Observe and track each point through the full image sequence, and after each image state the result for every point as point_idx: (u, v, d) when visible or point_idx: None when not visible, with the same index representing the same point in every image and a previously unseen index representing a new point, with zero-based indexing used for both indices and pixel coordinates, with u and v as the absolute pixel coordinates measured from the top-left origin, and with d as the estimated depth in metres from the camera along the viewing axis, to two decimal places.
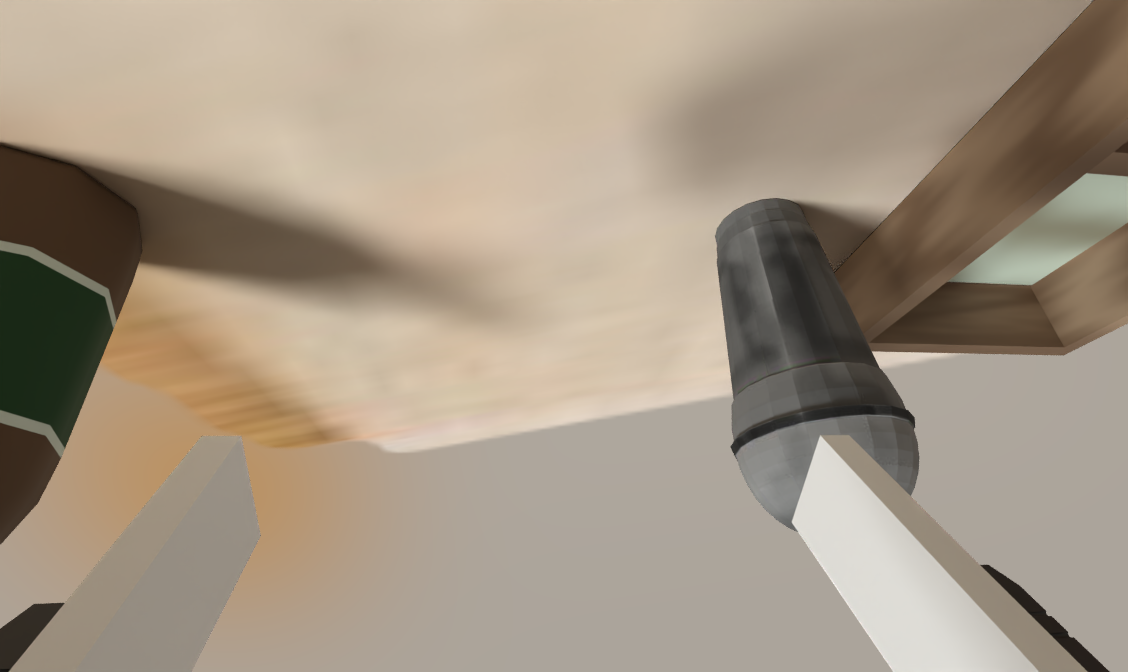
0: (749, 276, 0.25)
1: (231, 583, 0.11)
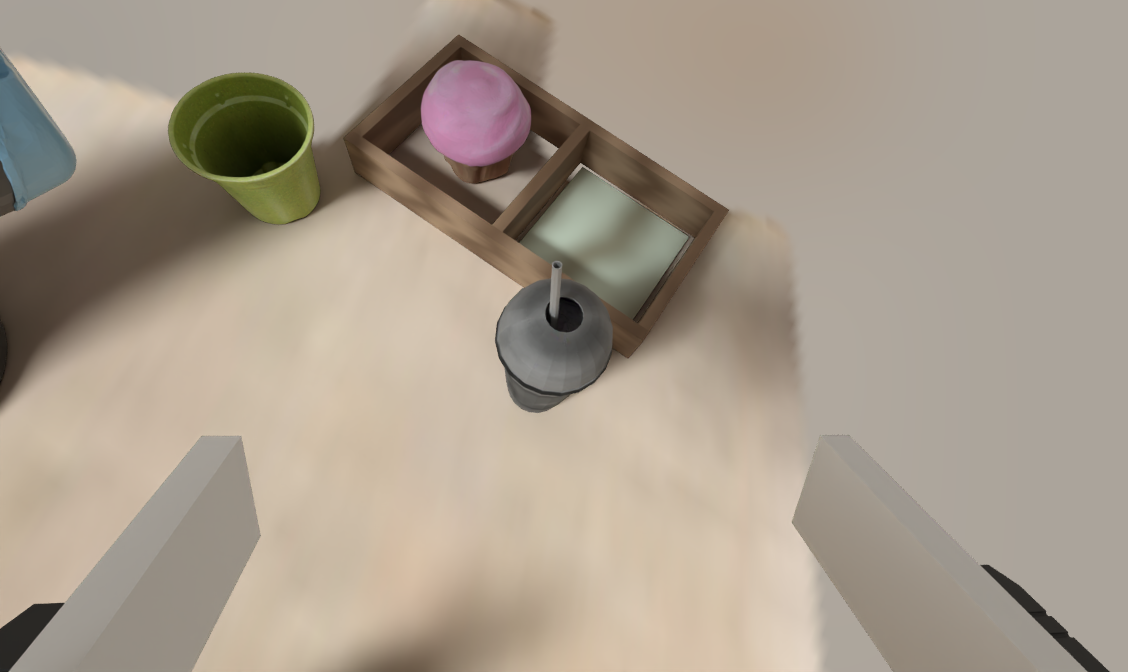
0: (507, 382, 0.40)
1: (231, 583, 0.11)
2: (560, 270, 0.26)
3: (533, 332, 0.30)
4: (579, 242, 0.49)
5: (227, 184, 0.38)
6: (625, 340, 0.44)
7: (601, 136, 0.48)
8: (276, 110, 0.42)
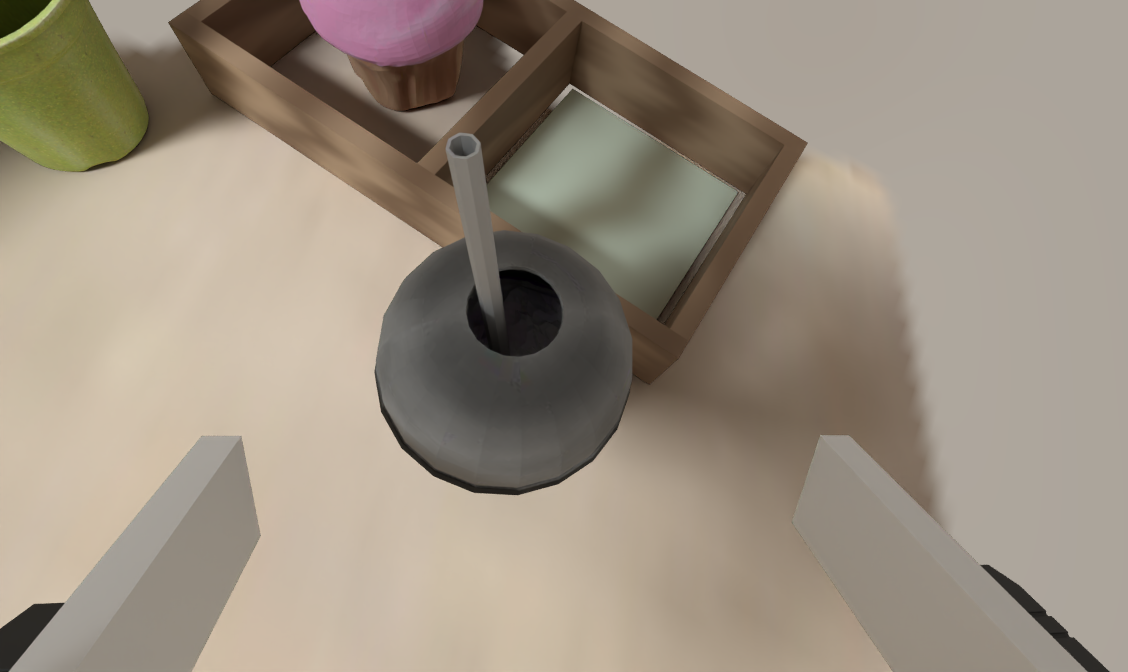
0: None
1: (231, 583, 0.11)
2: (475, 165, 0.08)
3: (437, 357, 0.12)
4: (568, 200, 0.31)
5: None
6: (646, 356, 0.26)
7: (600, 30, 0.30)
8: None
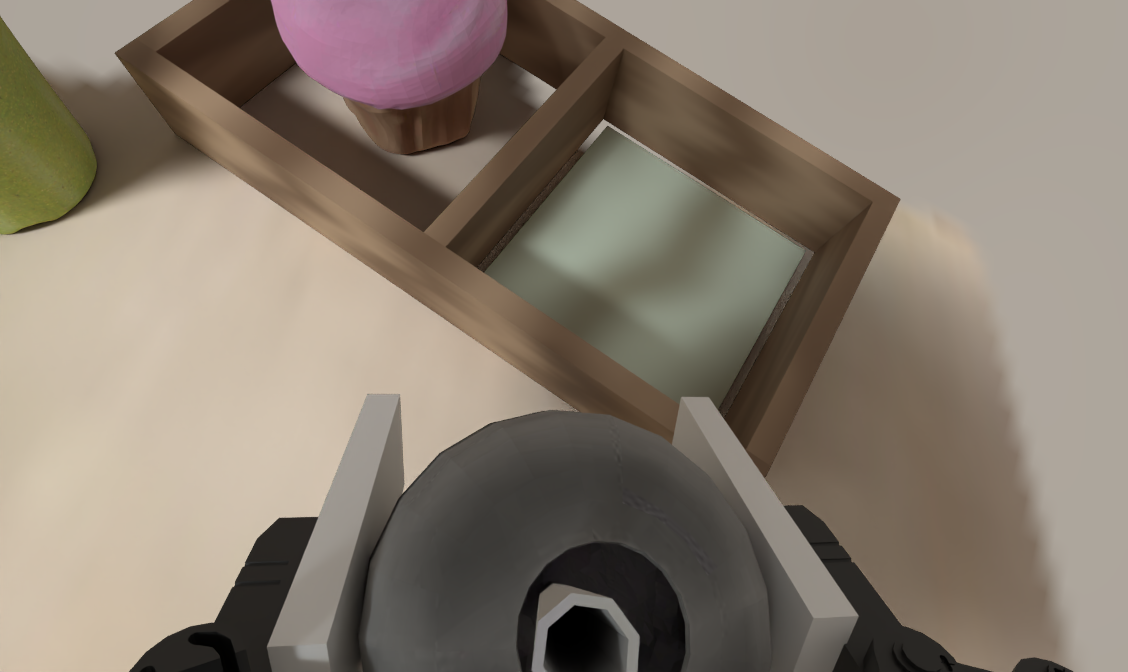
0: None
1: None
2: None
3: None
4: (605, 264, 0.26)
5: None
6: None
7: (646, 60, 0.25)
8: None
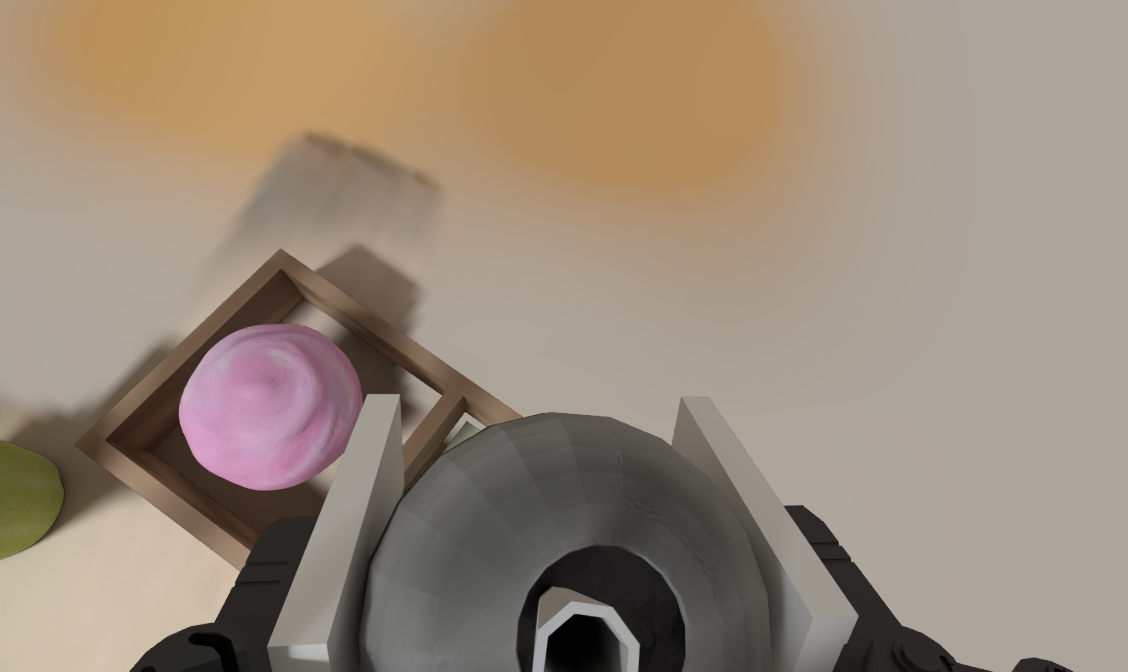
0: None
1: None
2: None
3: None
4: None
5: None
6: None
7: (480, 404, 0.33)
8: None
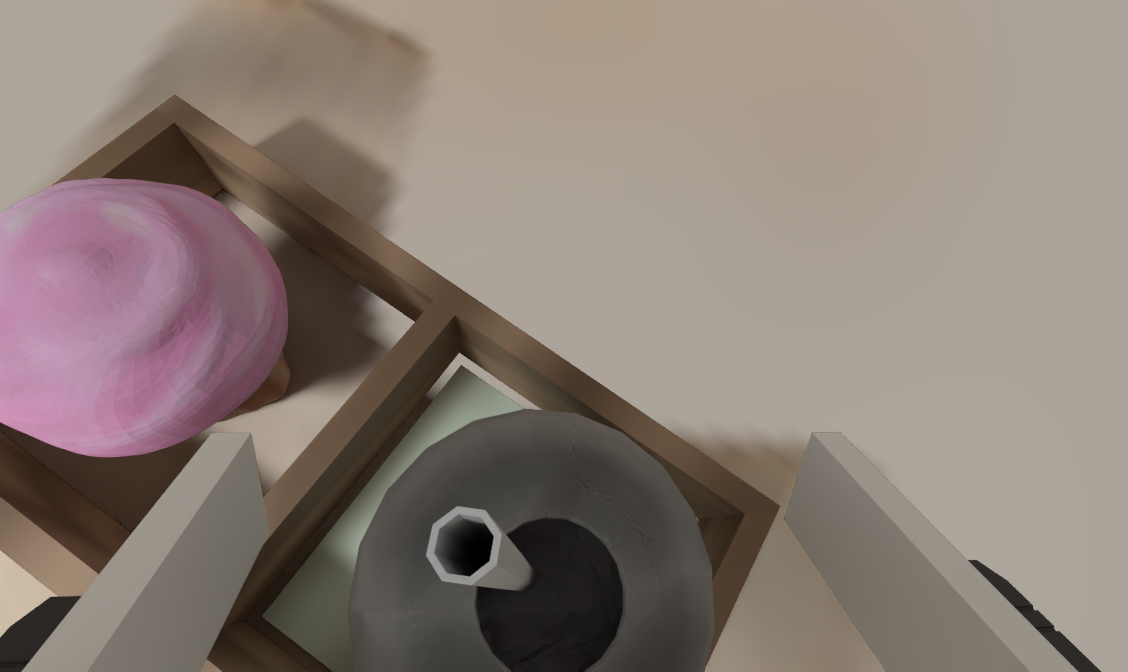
0: None
1: (241, 578, 0.11)
2: (490, 574, 0.04)
3: None
4: None
5: None
6: None
7: (481, 329, 0.21)
8: None
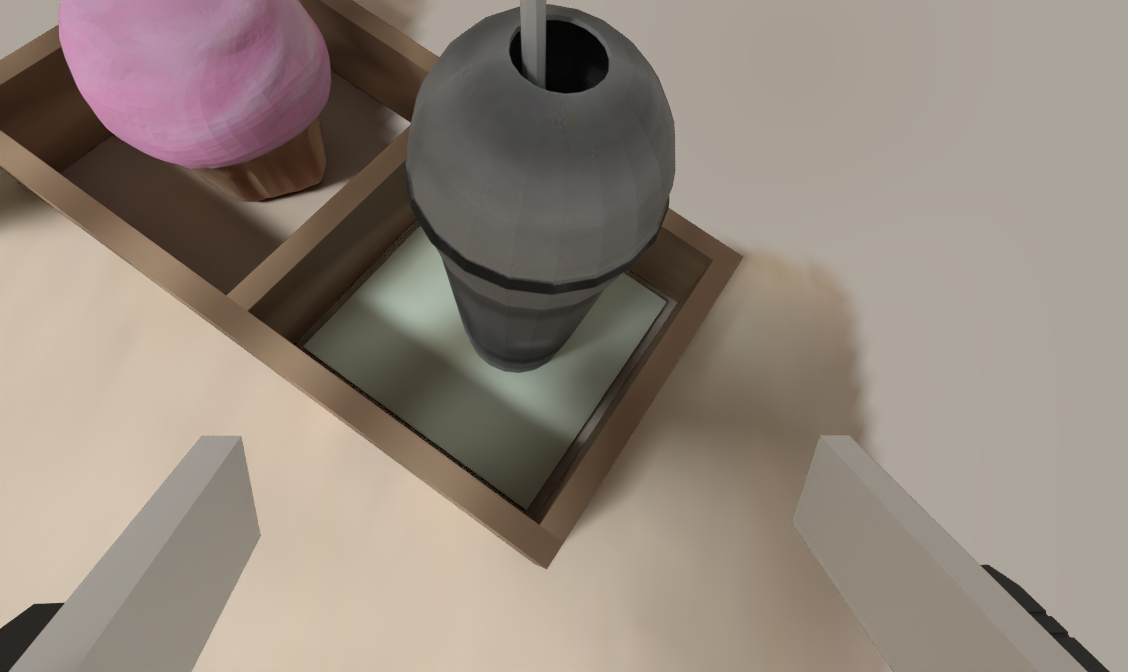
0: (457, 305, 0.21)
1: (231, 583, 0.11)
2: None
3: (477, 98, 0.11)
4: (452, 316, 0.25)
5: None
6: (517, 548, 0.20)
7: None
8: None
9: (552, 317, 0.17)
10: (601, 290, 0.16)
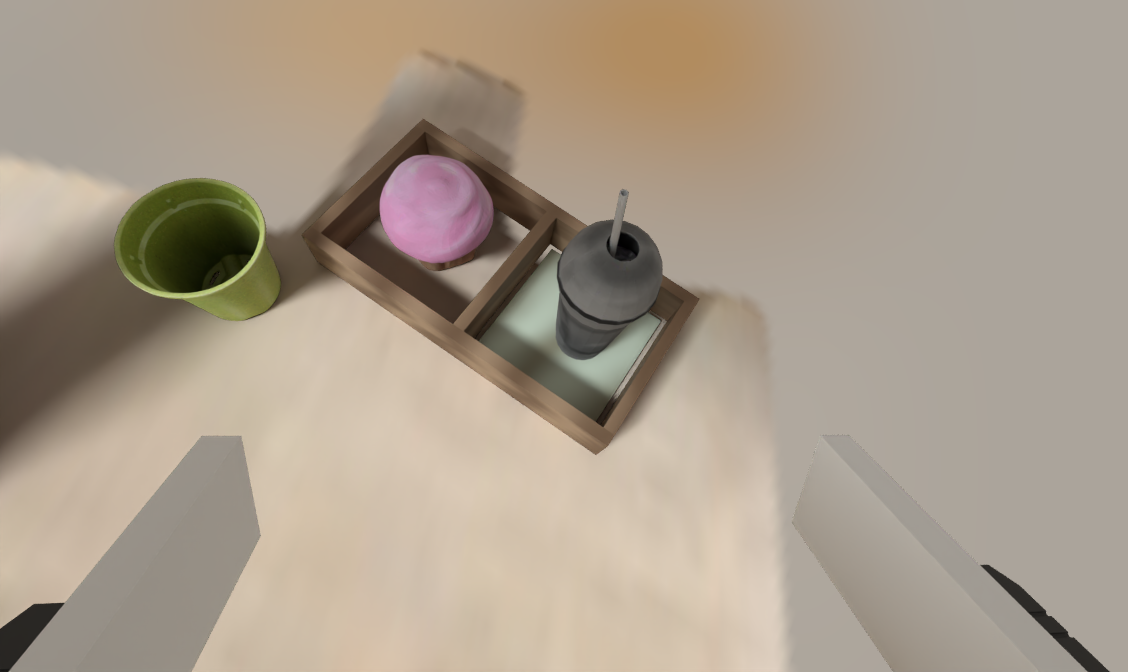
0: (559, 326, 0.43)
1: (231, 583, 0.11)
2: (626, 198, 0.30)
3: (596, 262, 0.34)
4: (547, 330, 0.48)
5: None
6: (591, 441, 0.43)
7: (568, 223, 0.47)
8: (231, 211, 0.41)
9: (611, 332, 0.40)
10: None
